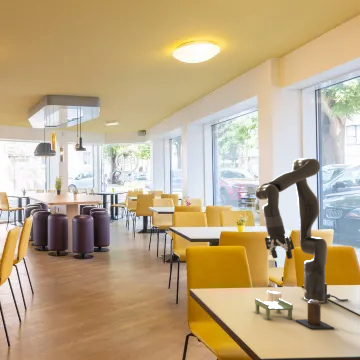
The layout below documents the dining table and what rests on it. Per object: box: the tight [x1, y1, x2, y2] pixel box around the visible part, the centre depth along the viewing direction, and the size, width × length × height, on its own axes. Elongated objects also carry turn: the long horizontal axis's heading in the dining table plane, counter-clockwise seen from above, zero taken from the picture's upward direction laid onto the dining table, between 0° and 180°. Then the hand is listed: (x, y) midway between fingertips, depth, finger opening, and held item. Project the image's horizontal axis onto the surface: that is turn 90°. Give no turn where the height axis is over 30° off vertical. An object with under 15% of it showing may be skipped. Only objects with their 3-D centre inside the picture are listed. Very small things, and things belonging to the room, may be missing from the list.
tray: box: [254, 298, 294, 320], centre depth 180 cm, size 12×10×7 cm
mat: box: [295, 319, 335, 330], centre depth 169 cm, size 10×10×1 cm
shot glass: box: [265, 289, 283, 302], centre depth 195 cm, size 7×7×7 cm
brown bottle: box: [306, 299, 322, 325], centre depth 169 cm, size 5×5×10 cm
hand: (282, 258), depth 188 cm, fingers open, 8 cm apart
